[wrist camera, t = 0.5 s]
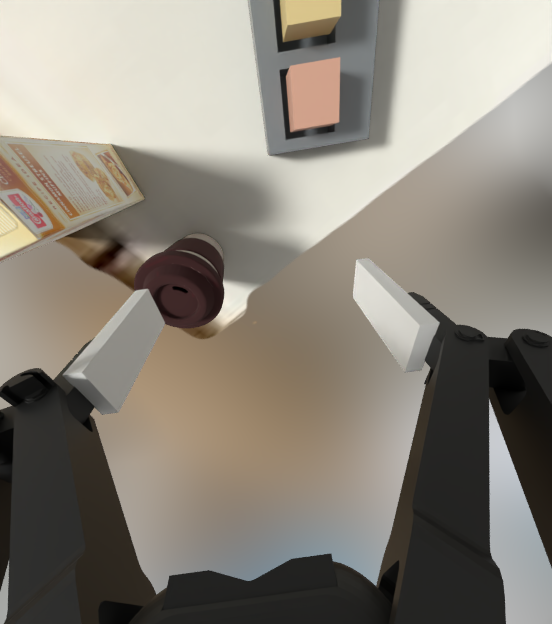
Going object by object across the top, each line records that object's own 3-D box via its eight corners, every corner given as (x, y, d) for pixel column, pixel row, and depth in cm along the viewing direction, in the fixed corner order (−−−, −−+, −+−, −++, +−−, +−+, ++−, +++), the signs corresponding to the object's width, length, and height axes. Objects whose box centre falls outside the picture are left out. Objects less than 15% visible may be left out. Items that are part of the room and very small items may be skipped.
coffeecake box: (110, 141, 29) (-73, 123, 13) (147, 199, 33) (43, 243, 17) (16, 187, 31) (-245, 223, 15) (62, 237, 35) (-104, 309, 19)
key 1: (285, 76, 24) (290, 65, 21) (329, 69, 24) (340, 56, 21) (290, 132, 26) (294, 129, 23) (329, 125, 26) (339, 122, 23)
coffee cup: (199, 291, 41) (176, 348, 29) (156, 246, 36) (106, 293, 24) (243, 262, 39) (239, 312, 27) (203, 210, 34) (175, 241, 22)
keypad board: (223, -183, 18) (216, -267, 14) (374, -212, 18) (404, -303, 14) (267, 155, 31) (269, 155, 27) (356, 140, 30) (369, 138, 27)
